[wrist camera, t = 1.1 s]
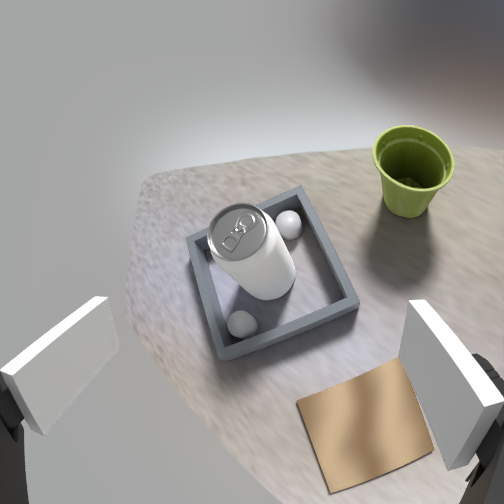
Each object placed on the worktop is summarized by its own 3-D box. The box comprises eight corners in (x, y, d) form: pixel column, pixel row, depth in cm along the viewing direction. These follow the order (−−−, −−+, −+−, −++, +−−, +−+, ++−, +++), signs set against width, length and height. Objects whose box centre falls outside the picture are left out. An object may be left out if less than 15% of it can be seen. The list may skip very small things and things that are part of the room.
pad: (399, 356, 29) (400, 356, 29) (433, 448, 23) (434, 449, 23) (297, 400, 30) (296, 400, 30) (331, 491, 25) (330, 493, 24)
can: (306, 267, 36) (288, 218, 26) (274, 311, 35) (241, 280, 25) (264, 241, 39) (232, 188, 29) (233, 282, 38) (188, 242, 28)
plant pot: (356, 188, 38) (355, 143, 31) (409, 159, 38) (416, 115, 30) (398, 243, 34) (409, 206, 26) (451, 209, 33) (470, 168, 26)
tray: (304, 197, 40) (301, 185, 37) (358, 308, 32) (360, 301, 30) (195, 247, 42) (185, 237, 39) (228, 360, 34) (218, 359, 32)
